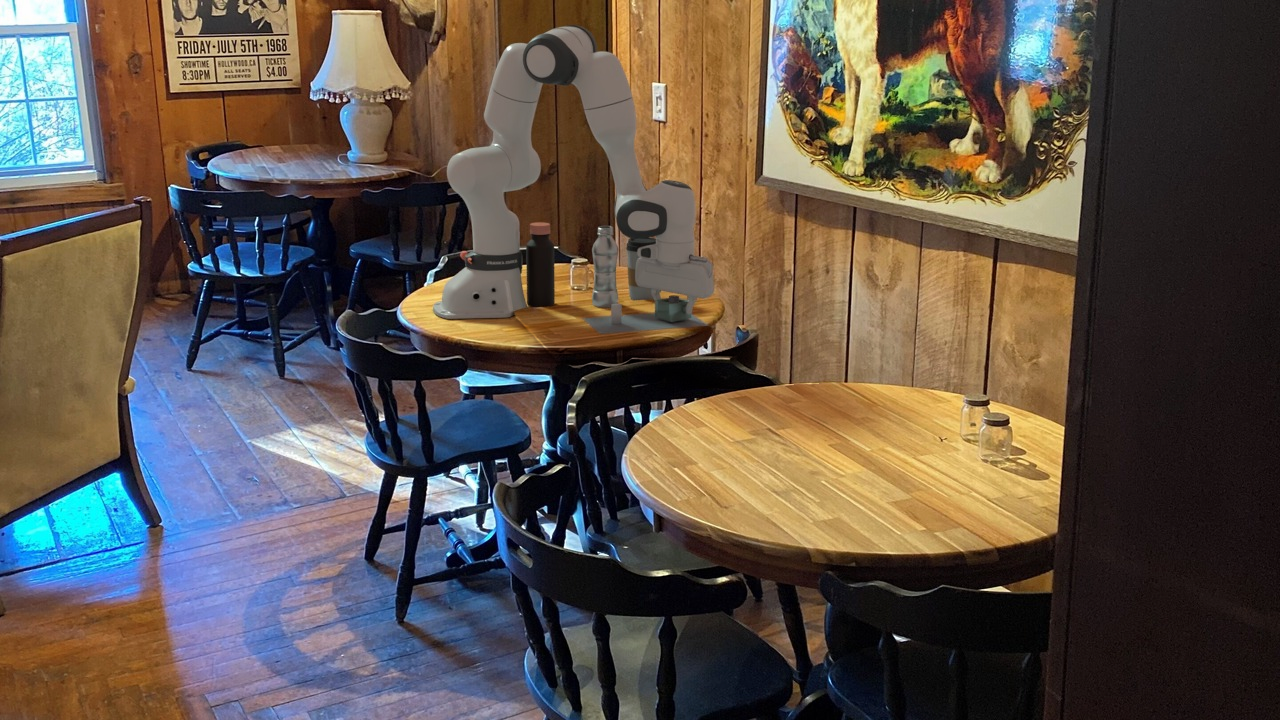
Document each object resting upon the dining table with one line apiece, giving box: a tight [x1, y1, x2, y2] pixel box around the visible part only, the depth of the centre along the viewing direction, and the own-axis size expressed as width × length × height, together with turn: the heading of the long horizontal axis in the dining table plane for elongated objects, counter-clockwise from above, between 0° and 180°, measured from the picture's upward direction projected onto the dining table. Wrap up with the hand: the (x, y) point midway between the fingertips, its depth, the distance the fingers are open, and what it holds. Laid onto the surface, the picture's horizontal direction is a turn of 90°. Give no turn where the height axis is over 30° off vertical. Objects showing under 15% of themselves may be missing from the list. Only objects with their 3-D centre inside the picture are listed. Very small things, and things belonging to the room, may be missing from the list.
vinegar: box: [525, 221, 556, 308], centre depth 287 cm, size 7×7×20 cm
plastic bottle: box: [591, 225, 619, 309], centre depth 284 cm, size 6×7×20 cm
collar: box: [654, 297, 691, 322], centre depth 273 cm, size 6×6×4 cm
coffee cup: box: [625, 237, 656, 301], centre depth 295 cm, size 8×8×15 cm
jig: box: [582, 294, 710, 335], centre depth 271 cm, size 26×14×6 cm, turn 109°
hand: (673, 310), depth 273 cm, fingers closed on collar, 7 cm apart
